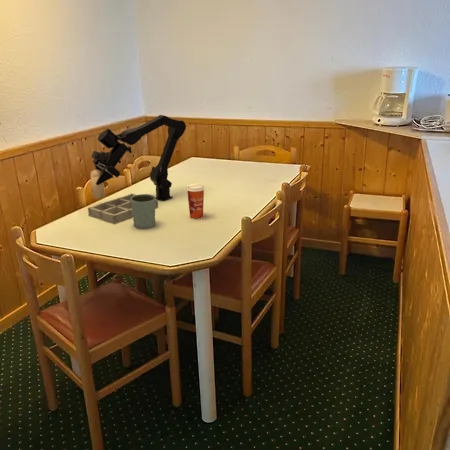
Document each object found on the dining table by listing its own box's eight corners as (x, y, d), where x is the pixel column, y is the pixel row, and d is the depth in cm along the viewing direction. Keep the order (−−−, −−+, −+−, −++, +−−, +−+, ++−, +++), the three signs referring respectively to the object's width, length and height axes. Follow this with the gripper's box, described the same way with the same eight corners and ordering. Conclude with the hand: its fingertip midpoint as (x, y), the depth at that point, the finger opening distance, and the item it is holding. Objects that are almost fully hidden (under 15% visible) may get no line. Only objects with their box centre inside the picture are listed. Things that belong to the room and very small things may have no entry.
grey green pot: (135, 220, 187) (133, 193, 183) (159, 220, 187) (157, 193, 182) (130, 229, 178) (127, 201, 173) (155, 229, 177) (153, 201, 173)
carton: (158, 207, 202) (157, 200, 201) (114, 224, 184) (113, 215, 182) (132, 200, 212) (131, 193, 211) (88, 215, 194) (87, 207, 192)
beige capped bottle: (107, 195, 197) (104, 168, 192) (100, 199, 192) (97, 171, 188) (98, 194, 199) (95, 167, 194) (90, 197, 194) (87, 170, 190)
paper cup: (191, 221, 186) (190, 189, 181) (185, 215, 192) (183, 184, 187) (208, 217, 189) (207, 186, 184) (201, 212, 196) (200, 182, 191)
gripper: (94, 140, 196) (73, 168, 194) (110, 147, 182) (87, 177, 180) (112, 155, 203) (92, 182, 201) (129, 162, 189) (107, 192, 187)
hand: (94, 183), depth 192 cm, fingers closed on beige capped bottle, 5 cm apart
